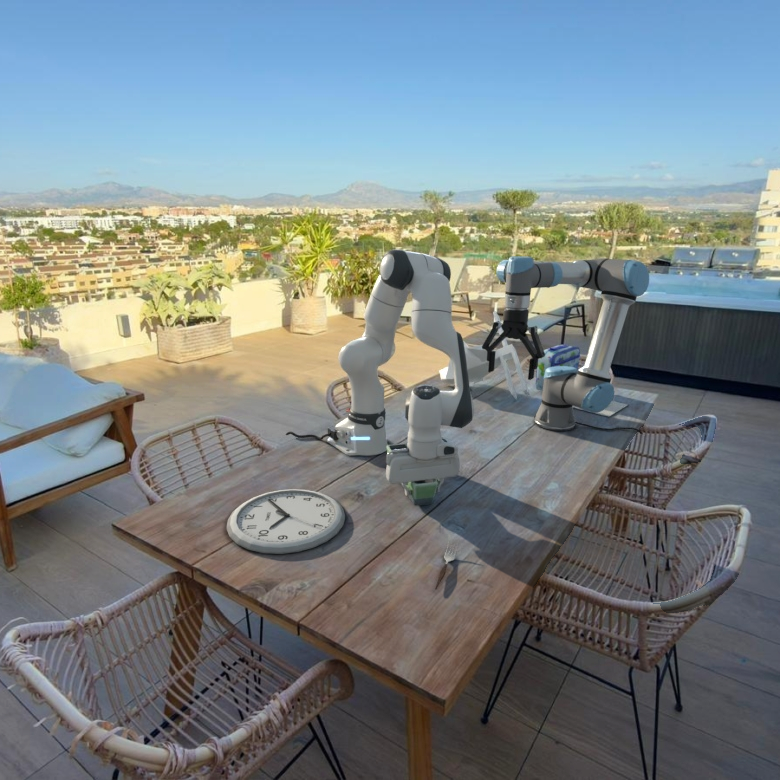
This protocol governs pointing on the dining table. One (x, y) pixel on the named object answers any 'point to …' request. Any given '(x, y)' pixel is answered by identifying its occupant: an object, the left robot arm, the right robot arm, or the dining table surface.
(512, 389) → the white plastic object
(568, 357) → the lunch box
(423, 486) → the planter
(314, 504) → the wall clock
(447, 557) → the fork
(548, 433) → the dining table surface
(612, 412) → the invitation card
